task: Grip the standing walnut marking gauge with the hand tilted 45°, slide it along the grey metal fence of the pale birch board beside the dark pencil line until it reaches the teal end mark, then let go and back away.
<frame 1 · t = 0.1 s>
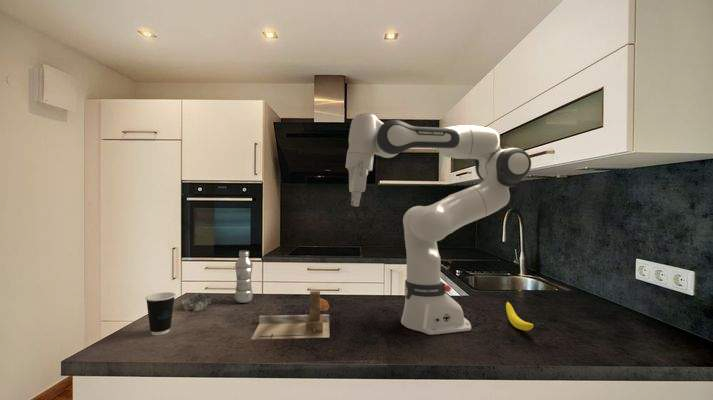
hand: (354, 206, 109), 39 cm above the counter, tool pointing down, fingers open, 8 cm apart
egg carton: (197, 307, 125), on the counter
pastry: (320, 311, 123), on the counter
dixie cup: (160, 332, 101), on the counter
banana: (518, 329, 108), on the counter
plastic bottle: (243, 302, 131), on the counter
birch board: (292, 334, 101), on the counter
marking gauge: (314, 328, 102), point 1 cm above the counter, touching birch board
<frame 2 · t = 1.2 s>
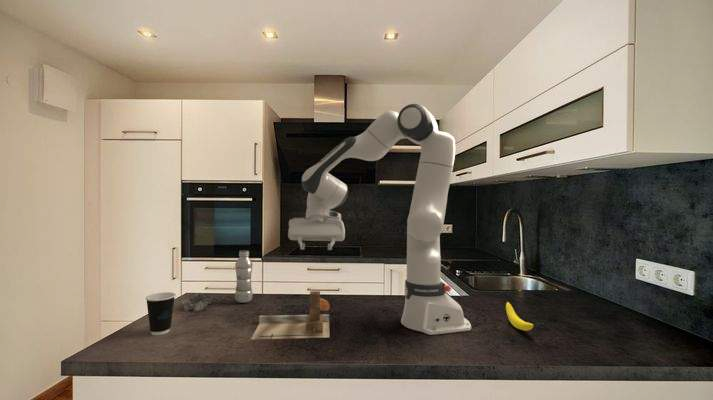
hand: (316, 248, 116), 24 cm above the counter, tool tilted 45°, fingers open, 8 cm apart
nothing on the counter moved.
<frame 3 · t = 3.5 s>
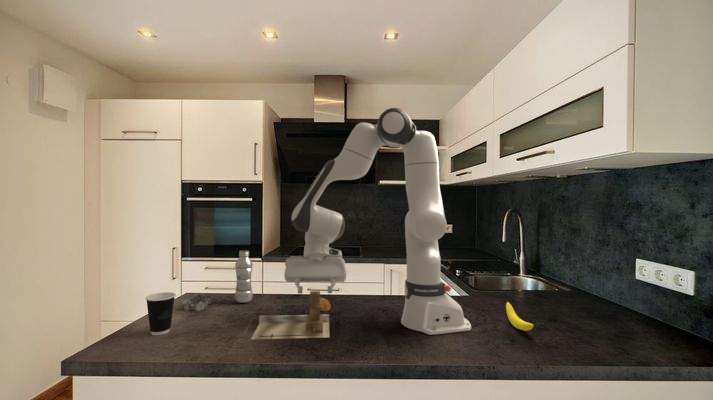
hand: (314, 292, 106), 11 cm above the counter, tool tilted 45°, fingers open, 8 cm apart
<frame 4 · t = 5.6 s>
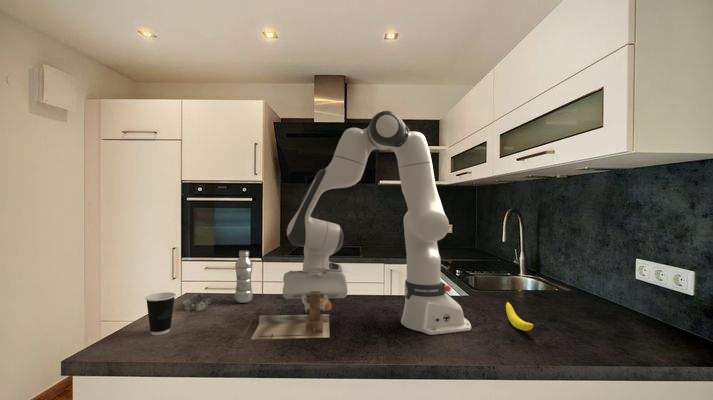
hand: (314, 310, 101), 7 cm above the counter, tool tilted 45°, fingers closed on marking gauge, 3 cm apart
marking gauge: (314, 328, 102), point 2 cm above the counter, touching birch board, gripper
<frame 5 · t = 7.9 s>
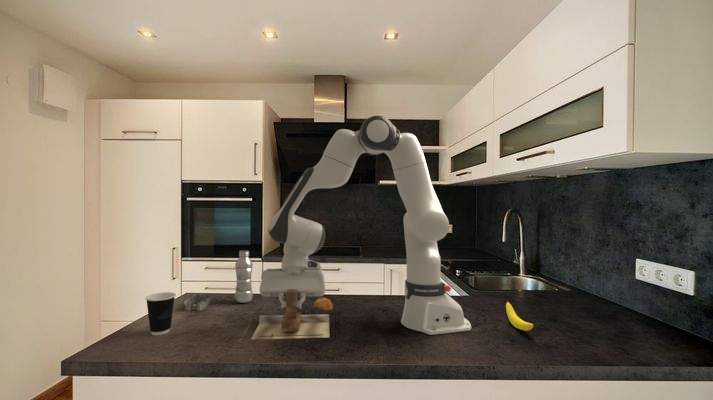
hand: (291, 308, 100), 8 cm above the counter, tool tilted 45°, fingers closed on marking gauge, 3 cm apart
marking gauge: (291, 326, 101), point 2 cm above the counter, touching gripper
when the fingers open (7 cm above the counter, at t = 10.1 s): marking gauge stays where it is, resting on birch board.
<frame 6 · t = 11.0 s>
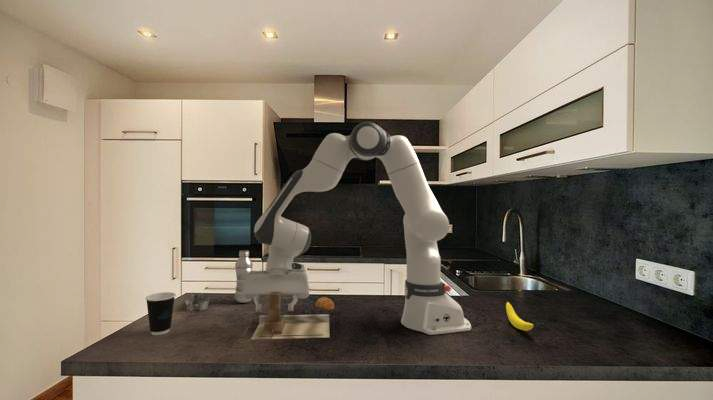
hand: (274, 310, 100), 7 cm above the counter, tool tilted 45°, fingers open, 8 cm apart
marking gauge: (274, 329, 101), point 1 cm above the counter, touching birch board
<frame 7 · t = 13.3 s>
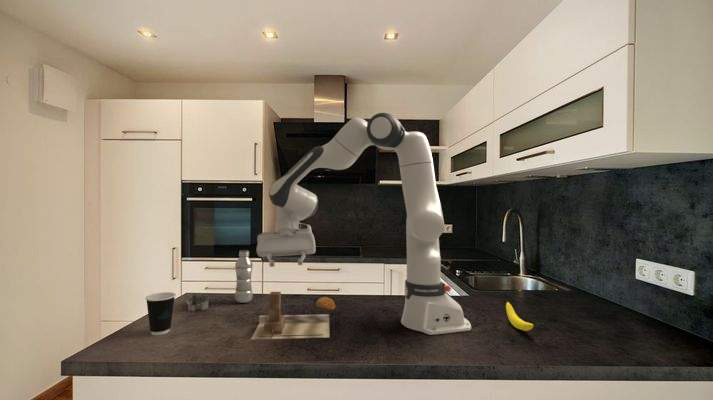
hand: (286, 265, 113), 18 cm above the counter, tool tilted 40°, fingers open, 8 cm apart
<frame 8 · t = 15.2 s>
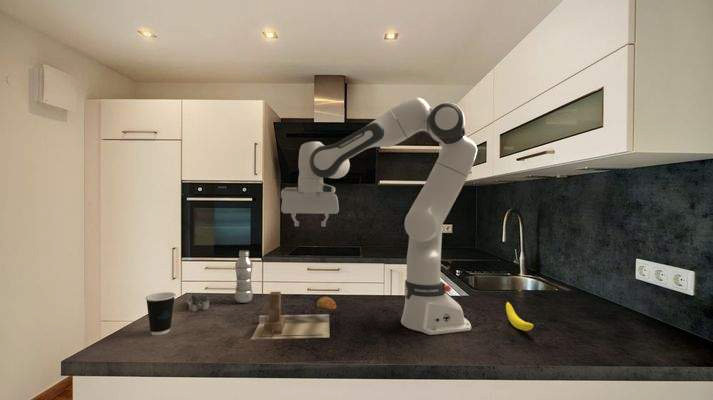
hand: (310, 226, 119), 31 cm above the counter, tool pointing down, fingers open, 8 cm apart
at the end: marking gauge 0.1 cm from the target spot, point 1.5 cm above the counter; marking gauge tilted 0°; the gripper is holding nothing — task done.
